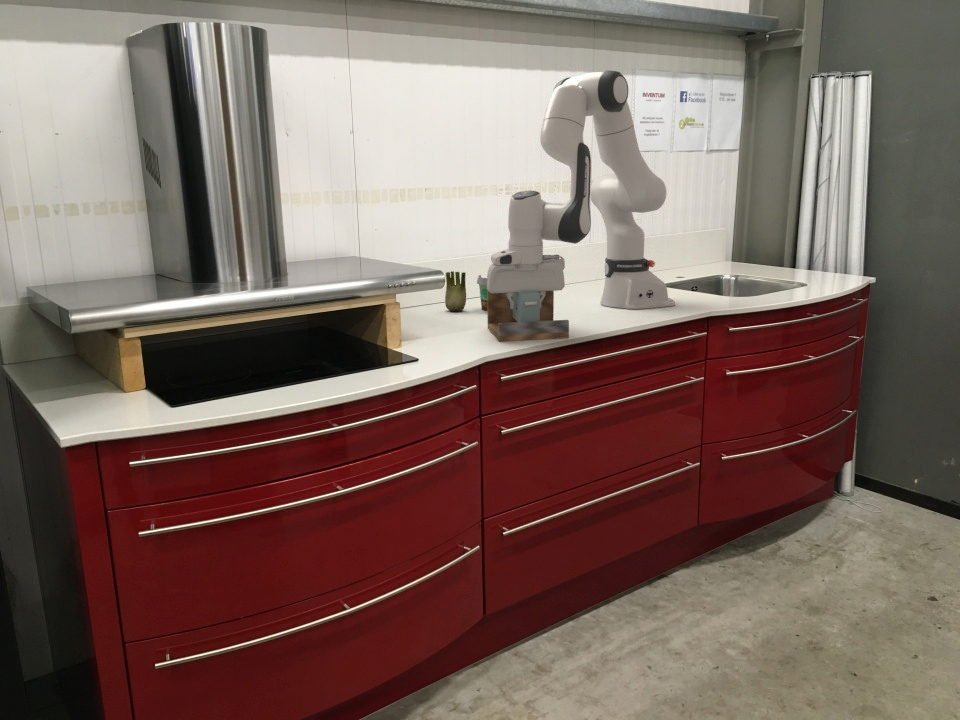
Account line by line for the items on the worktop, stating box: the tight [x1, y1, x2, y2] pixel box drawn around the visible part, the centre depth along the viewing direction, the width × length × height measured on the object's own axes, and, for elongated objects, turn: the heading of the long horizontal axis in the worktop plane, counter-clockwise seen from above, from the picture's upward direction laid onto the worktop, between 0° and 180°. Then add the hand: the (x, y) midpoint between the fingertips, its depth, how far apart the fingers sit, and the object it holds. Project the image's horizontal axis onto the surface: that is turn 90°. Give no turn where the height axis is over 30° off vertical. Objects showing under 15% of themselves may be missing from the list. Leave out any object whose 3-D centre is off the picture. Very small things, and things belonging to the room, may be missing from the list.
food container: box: [476, 274, 487, 312], centre depth 236 cm, size 12×6×10 cm, turn 62°
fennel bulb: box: [444, 270, 467, 312], centre depth 236 cm, size 6×5×12 cm
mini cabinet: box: [512, 291, 540, 322], centre depth 206 cm, size 5×11×8 cm, turn 10°
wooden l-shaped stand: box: [486, 290, 570, 343], centre depth 206 cm, size 18×16×12 cm
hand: (525, 308), depth 207 cm, fingers closed on mini cabinet, 5 cm apart
